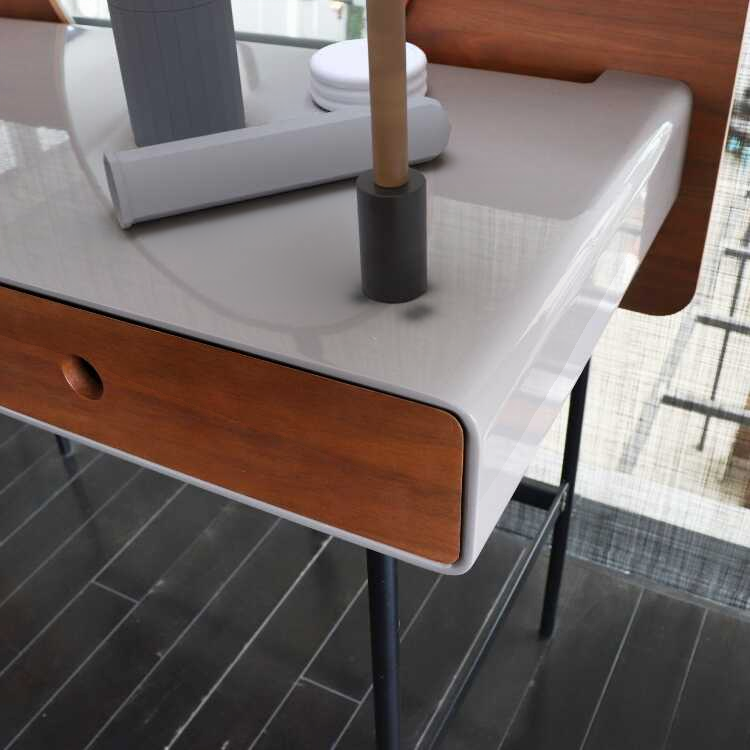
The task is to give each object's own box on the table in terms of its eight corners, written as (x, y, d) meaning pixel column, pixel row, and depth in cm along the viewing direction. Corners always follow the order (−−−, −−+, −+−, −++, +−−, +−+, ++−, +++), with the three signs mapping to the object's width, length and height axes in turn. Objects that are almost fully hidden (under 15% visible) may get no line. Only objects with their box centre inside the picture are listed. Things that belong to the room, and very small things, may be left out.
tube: (427, 88, 76) (99, 148, 69) (457, 87, 71) (108, 152, 64) (436, 158, 78) (117, 225, 70) (466, 162, 73) (127, 234, 66)
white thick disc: (441, 109, 83) (441, 68, 81) (323, 124, 81) (320, 82, 79) (410, 69, 91) (409, 30, 89) (302, 82, 89) (299, 43, 87)
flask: (128, 160, 77) (90, -29, 69) (140, 115, 84) (107, -60, 76) (245, 151, 78) (221, -37, 69) (246, 108, 85) (225, -68, 77)
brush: (364, 305, 59) (345, -51, 47) (359, 271, 62) (340, -70, 50) (431, 300, 59) (429, -56, 47) (422, 266, 63) (418, -75, 51)
